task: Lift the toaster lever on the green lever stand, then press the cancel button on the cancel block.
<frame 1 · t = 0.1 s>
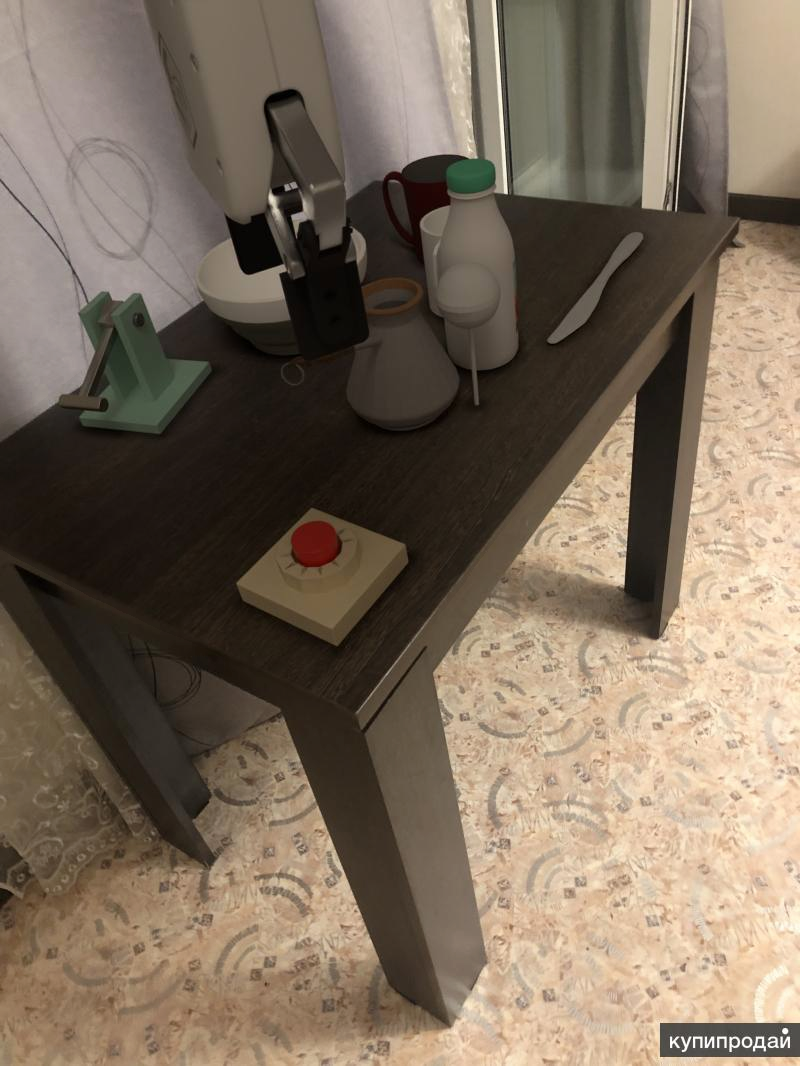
hand: (300, 303, 39), 30 cm above the table, tool pointing down, fingers open, 9 cm apart
cancel button: (315, 544, 65), point 4 cm above the table, slide at 0.1 cm
milk bottle: (483, 354, 89), on the table
lollipop: (476, 405, 83), on the table
butter knife: (600, 287, 96), on the table
mug: (434, 254, 108), on the table
coffee pot: (382, 437, 81), on the table
green lever stand: (149, 397, 92), on the table
toaster lever: (101, 357, 83), point 8 cm above the table, hinge at -25.0°
bowl: (298, 333, 98), on the table
cup: (458, 310, 97), on the table
cancel block: (326, 581, 68), on the table
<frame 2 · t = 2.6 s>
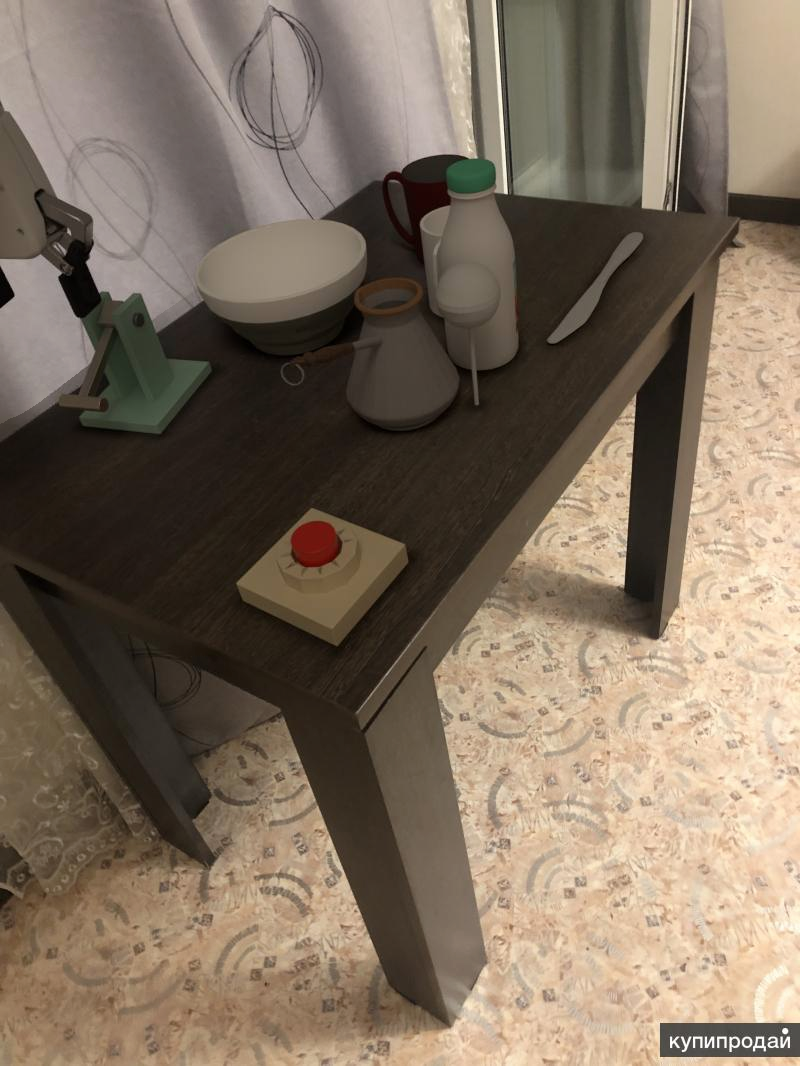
hand: (45, 307, 73), 17 cm above the table, tool pointing down, fingers open, 9 cm apart
nothing on the table moved.
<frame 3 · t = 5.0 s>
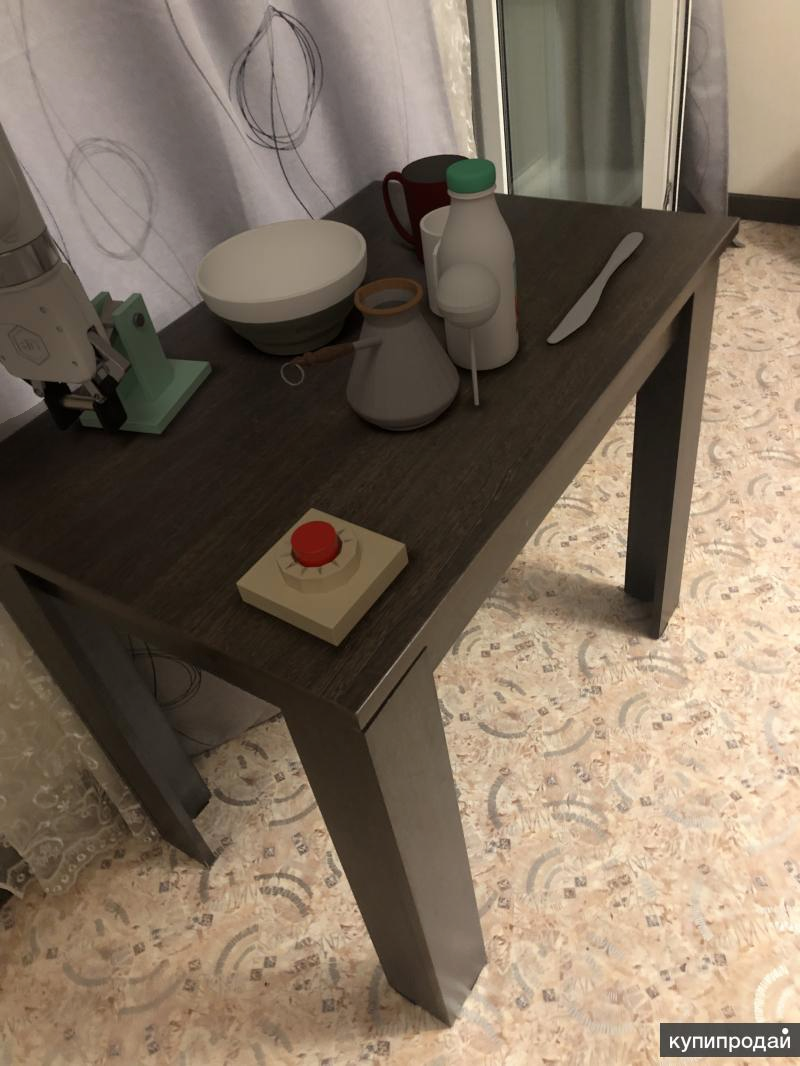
hand: (93, 423, 84), 3 cm above the table, tool pointing down, fingers closed on toaster lever, 5 cm apart
toaster lever: (101, 357, 83), point 8 cm above the table, hinge at -25.0°, touching gripper
everything else where it was.
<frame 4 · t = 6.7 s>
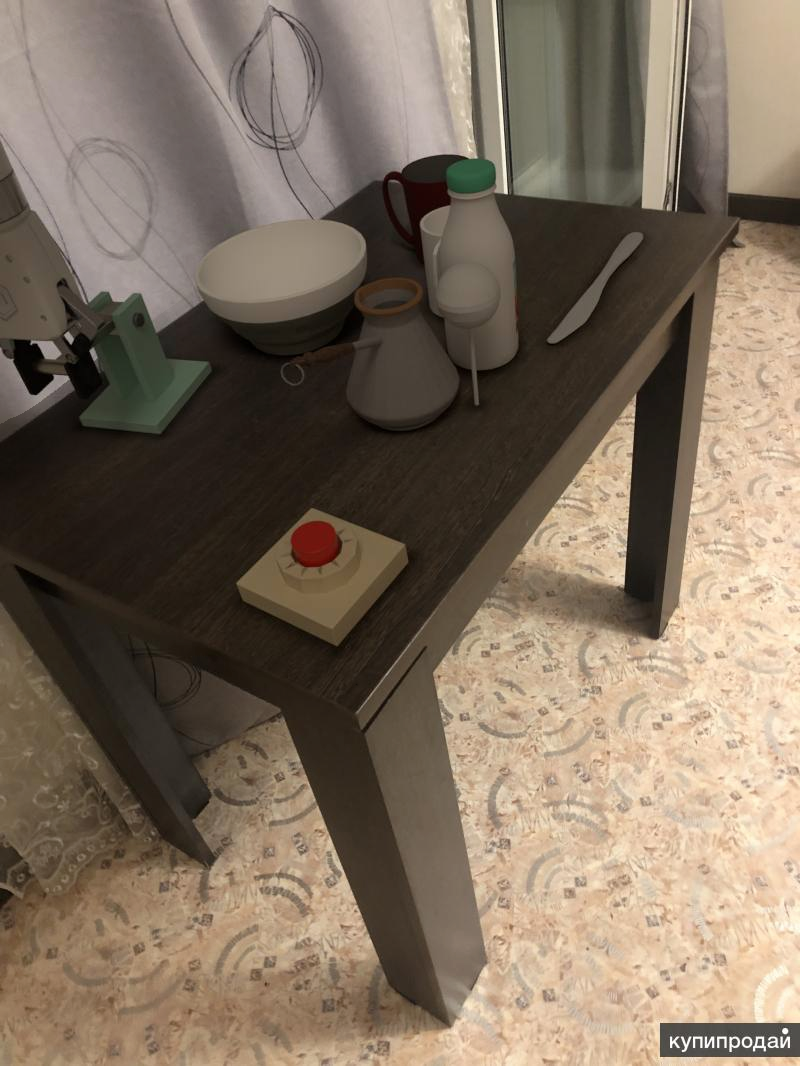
hand: (66, 387, 79), 8 cm above the table, tool pointing down, fingers closed on toaster lever, 5 cm apart
toaster lever: (90, 340, 81), point 10 cm above the table, hinge at 3.4°, touching gripper
everything else where it was.
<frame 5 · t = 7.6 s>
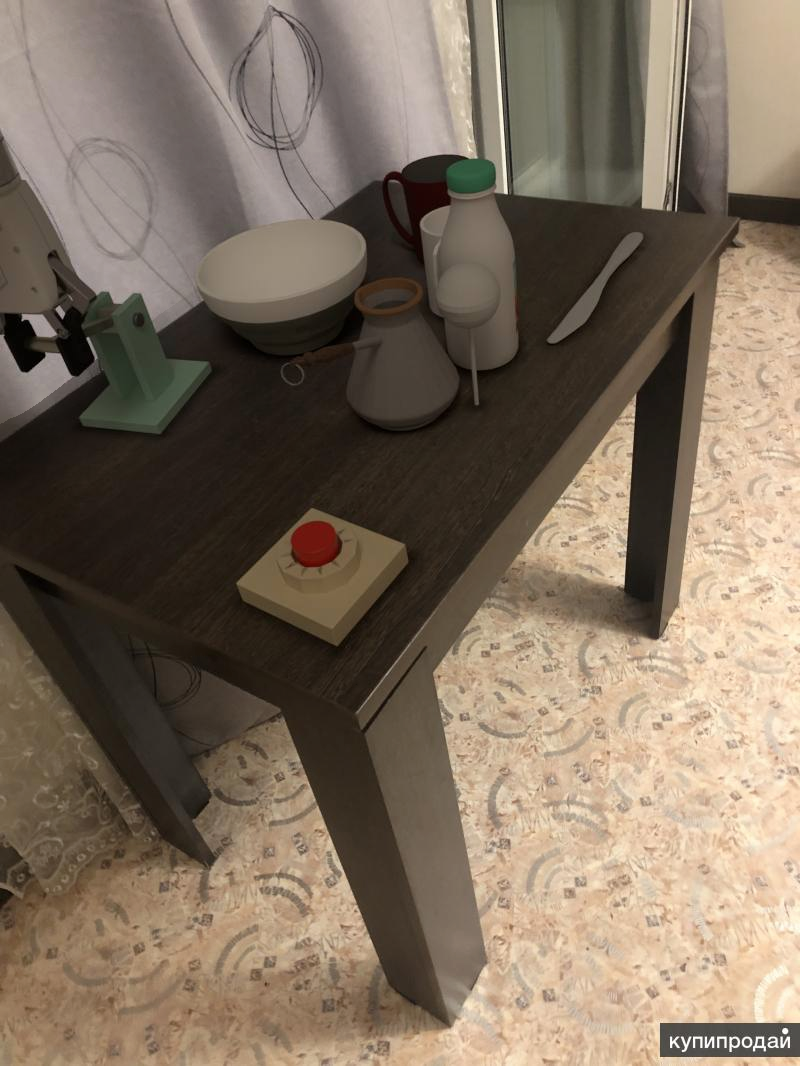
hand: (58, 365, 78), 11 cm above the table, tool pointing down, fingers closed on toaster lever, 5 cm apart
toaster lever: (87, 330, 81), point 11 cm above the table, hinge at 16.3°, touching gripper
everything else where it was.
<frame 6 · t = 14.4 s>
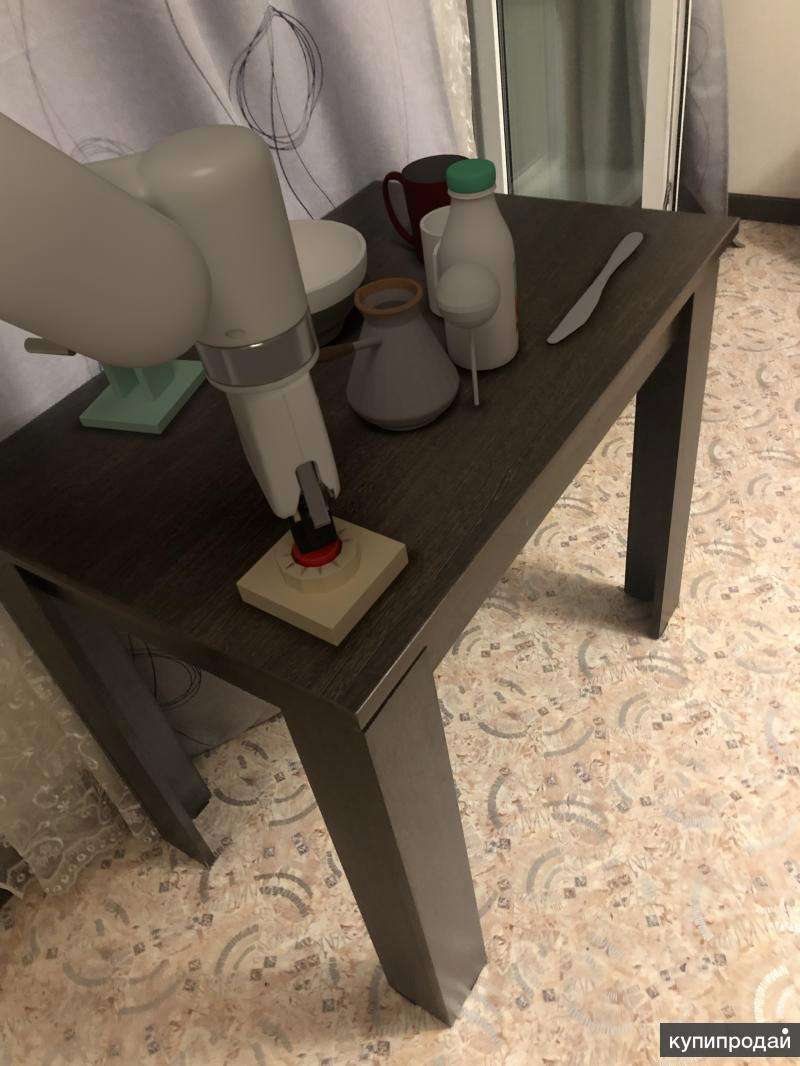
hand: (316, 541, 65), 5 cm above the table, tool pointing down, fingers closed
cancel button: (317, 551, 65), point 4 cm above the table, slide at -0.7 cm, touching gripper
toaster lever: (87, 330, 81), point 11 cm above the table, hinge at 15.4°
everything else where it was.
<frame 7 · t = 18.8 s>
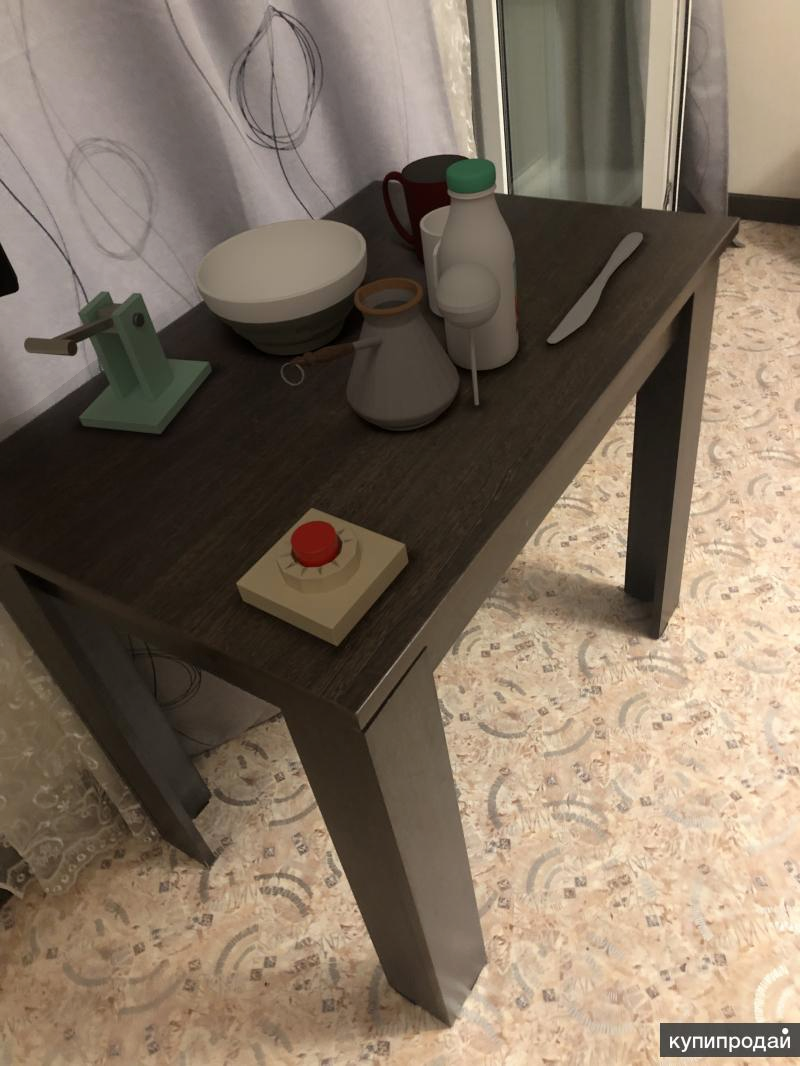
cancel button: (315, 544, 65), point 4 cm above the table, slide at 0.1 cm
everything else where it was.
at the end: toaster lever at +15° (first picture: -25°); cancel button pushed in 1.1 cm at the most during the clip, back to where it started at the end; cancel button slide at 0.1 cm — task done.
